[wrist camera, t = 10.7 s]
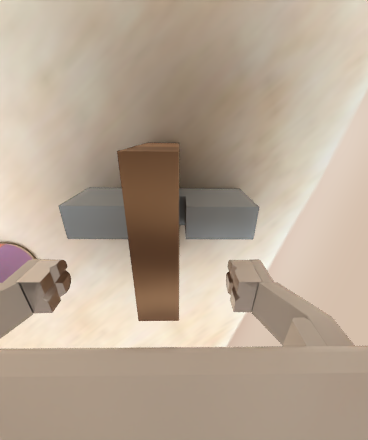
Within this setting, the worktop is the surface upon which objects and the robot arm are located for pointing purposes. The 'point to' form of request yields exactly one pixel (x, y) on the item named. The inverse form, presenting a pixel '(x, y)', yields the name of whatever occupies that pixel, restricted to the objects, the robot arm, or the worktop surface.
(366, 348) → the robot arm
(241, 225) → the notched grey block
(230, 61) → the worktop surface
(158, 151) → the wooden bridge block
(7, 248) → the beverage can
